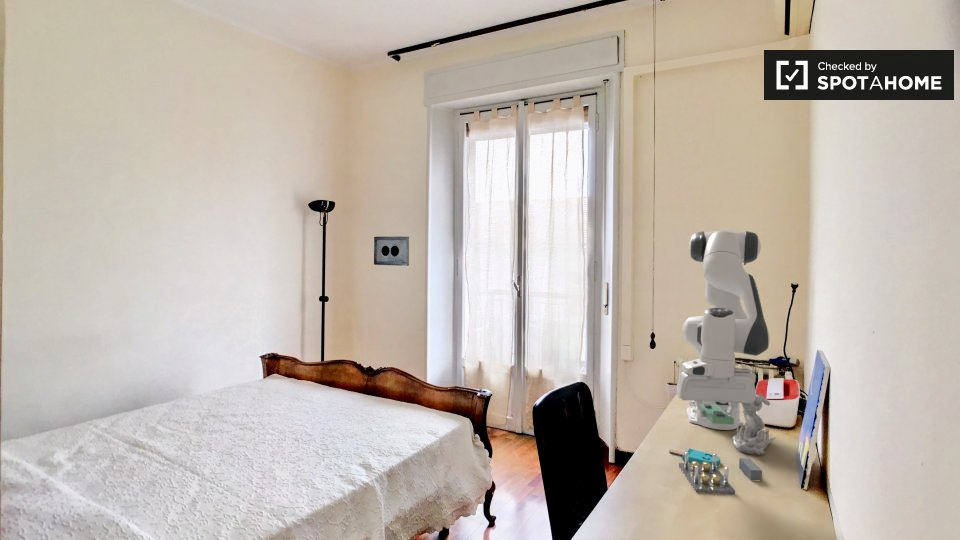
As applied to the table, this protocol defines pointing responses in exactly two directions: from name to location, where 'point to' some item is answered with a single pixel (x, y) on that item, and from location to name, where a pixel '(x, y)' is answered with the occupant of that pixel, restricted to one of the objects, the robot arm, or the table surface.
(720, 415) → the board
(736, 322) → the robot arm
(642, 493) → the table surface
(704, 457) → the toy
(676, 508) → the table surface
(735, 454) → the table surface
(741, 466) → the grey rectangular block
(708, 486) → the chassis
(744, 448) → the figurine
